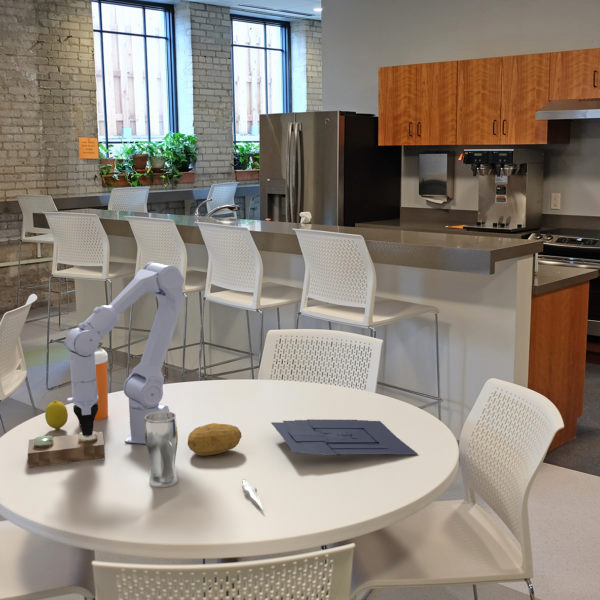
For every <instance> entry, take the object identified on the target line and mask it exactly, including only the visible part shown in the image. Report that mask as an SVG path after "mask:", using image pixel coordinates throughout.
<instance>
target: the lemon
mask: <svg viewBox="0 0 600 600" xmlns="http://www.w3.org/2000/svg"><path fill="white" fill-rule="evenodd" d="M68 415H69V414H68V409H67V407H66V405H65V404H64V403H63V402H62V401H58V400H57V399H56V400H55V399H54V400H53V401H51V402H50V403H48V405H47V406H46V408H45V412H44V416H45V422H46V424H47V425H48V426H49V427H50V428H53V429H55V430H56V431H59V430H60V429H61V428H63V427H64V426H65V425H66V424H67V422H68Z"/></svg>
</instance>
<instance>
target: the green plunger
mask: <svg viewBox="0 0 600 600" xmlns="http://www.w3.org/2000/svg"><path fill="white" fill-rule="evenodd" d="M53 437H54V436H52V435H40V436H38V437H35V438H33V439H34V447H36V448H47V447H50V446H52V445H53V444H54V439H53Z"/></svg>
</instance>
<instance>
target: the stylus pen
mask: <svg viewBox="0 0 600 600" xmlns="http://www.w3.org/2000/svg"><path fill="white" fill-rule="evenodd" d="M241 483H242V489H243V490H242V491H243V494H244V495H245V496H246V497H248V498H249V499H250V501H251V502H252V503H253V504H254V505H255V506H256V508H258V509H259V510H260V511H261V512H264V508H263V506H262V503H261V500H260V497H259V495H258V493H257V491H258V490H257V487H256V486H255V485H253V484H252V483H250V482H249V481H247V479H245V478H243V479H242V480H241Z"/></svg>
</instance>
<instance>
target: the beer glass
mask: <svg viewBox="0 0 600 600" xmlns="http://www.w3.org/2000/svg"><path fill="white" fill-rule="evenodd" d="M178 434H179V433H178V424H177V417H176V413H174V412H172V411H169V412H167V411H160V412H153V413H150V414H148V415H146V416H145V443H146V444H145V448H146V452H147V455H148V460H149V463H150V464H149V466H150V474H149V481H148V482H149V485H150V486H152V487H154V488H169V487H172V486H174V485H176V484H177V483H178V481H179V480H178V474H177V470H176V457H177V451H178V450H177V449H178V441H179V440H178V439H179V435H178Z"/></svg>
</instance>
